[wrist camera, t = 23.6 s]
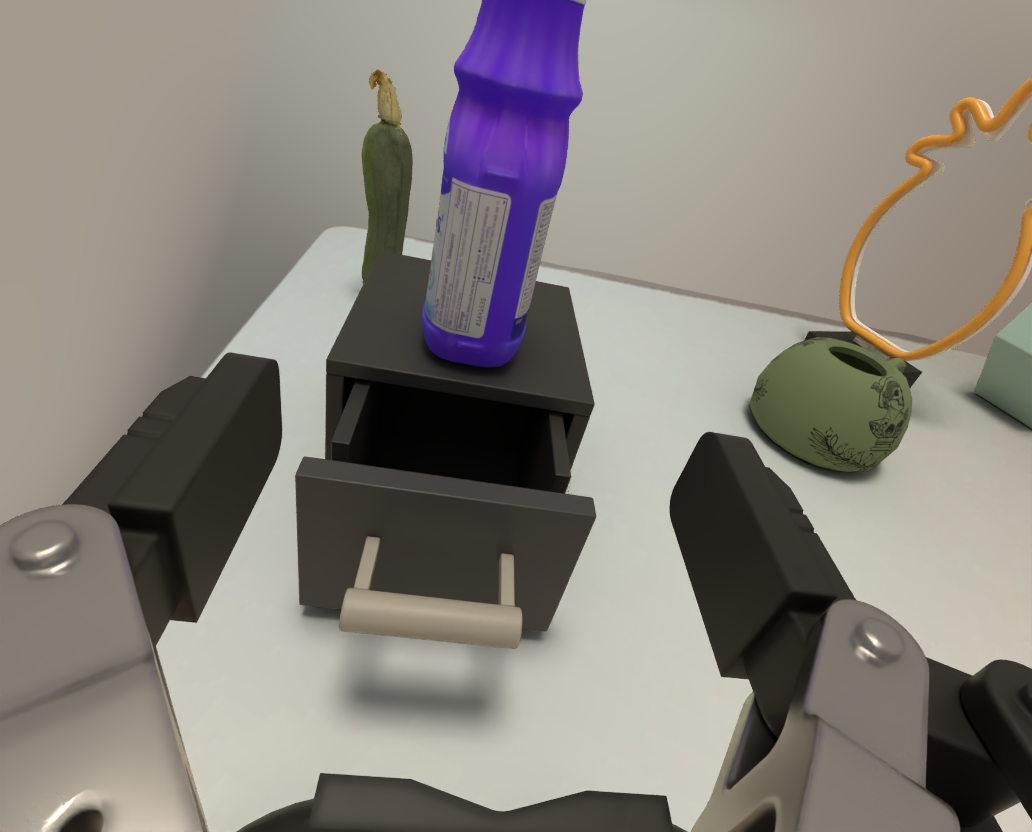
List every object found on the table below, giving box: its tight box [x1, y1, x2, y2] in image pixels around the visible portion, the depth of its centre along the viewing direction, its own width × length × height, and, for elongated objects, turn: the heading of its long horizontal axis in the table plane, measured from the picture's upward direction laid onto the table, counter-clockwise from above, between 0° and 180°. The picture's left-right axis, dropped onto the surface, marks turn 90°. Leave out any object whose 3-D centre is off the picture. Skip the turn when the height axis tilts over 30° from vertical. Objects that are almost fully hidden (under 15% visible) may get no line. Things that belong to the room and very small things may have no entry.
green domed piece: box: [749, 337, 912, 472], centre depth 51 cm, size 16×13×9 cm
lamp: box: [804, 77, 1032, 388], centre depth 56 cm, size 17×9×32 cm, turn 21°
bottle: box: [422, 0, 586, 368], centre depth 27 cm, size 7×6×17 cm
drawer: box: [295, 378, 596, 649], centre depth 29 cm, size 18×13×9 cm
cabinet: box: [325, 251, 594, 470], centre depth 37 cm, size 15×14×11 cm
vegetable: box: [362, 69, 412, 285], centre depth 51 cm, size 4×4×20 cm
